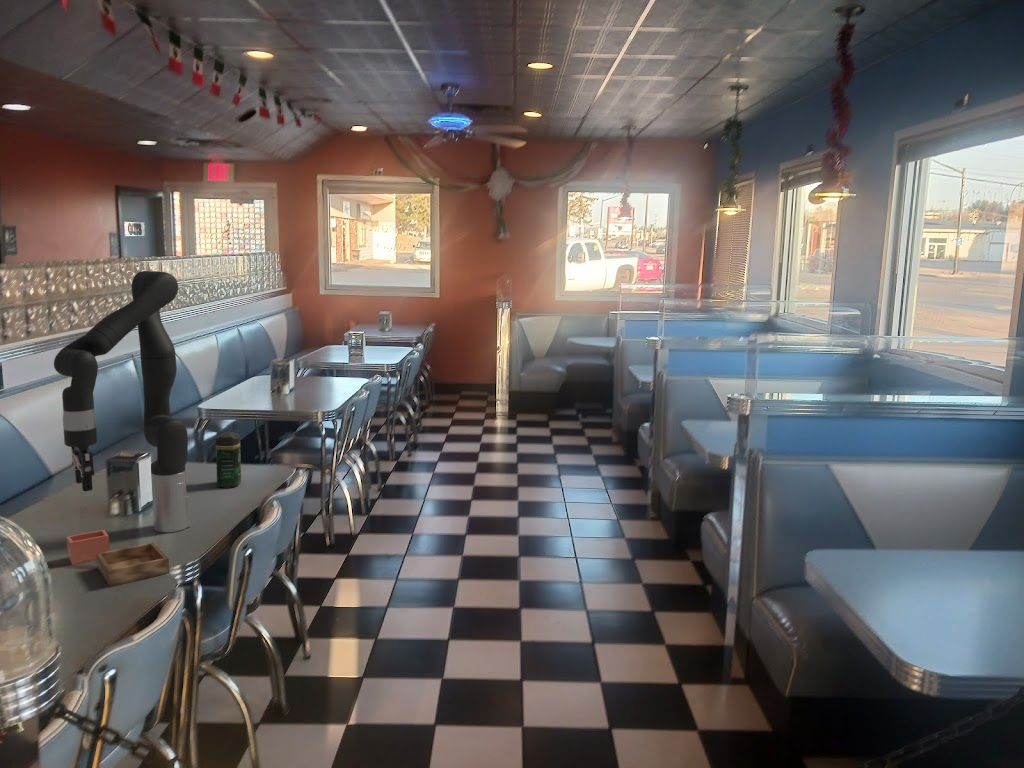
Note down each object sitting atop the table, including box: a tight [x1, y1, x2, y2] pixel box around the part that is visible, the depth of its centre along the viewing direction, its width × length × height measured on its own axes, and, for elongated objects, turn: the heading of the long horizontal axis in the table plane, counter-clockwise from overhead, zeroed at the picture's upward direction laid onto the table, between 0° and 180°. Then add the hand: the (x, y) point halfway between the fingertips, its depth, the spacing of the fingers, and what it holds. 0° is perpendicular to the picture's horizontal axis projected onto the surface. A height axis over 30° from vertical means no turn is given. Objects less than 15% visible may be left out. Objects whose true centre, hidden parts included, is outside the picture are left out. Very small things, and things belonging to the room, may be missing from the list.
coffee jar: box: [215, 431, 242, 489], centre depth 272 cm, size 10×8×19 cm
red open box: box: [65, 529, 111, 565], centre depth 207 cm, size 9×6×6 cm, turn 129°
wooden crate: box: [96, 541, 170, 587], centre depth 199 cm, size 14×14×4 cm
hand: (84, 486), depth 204 cm, fingers open, 8 cm apart
